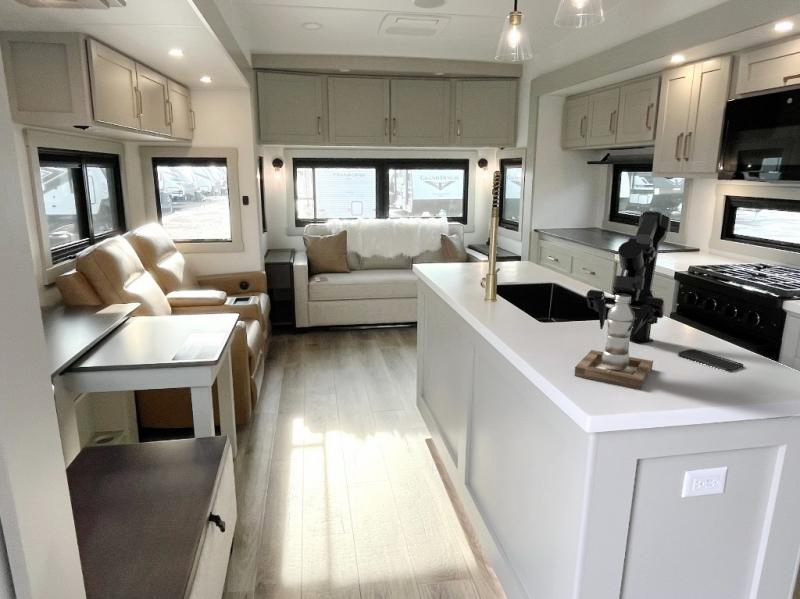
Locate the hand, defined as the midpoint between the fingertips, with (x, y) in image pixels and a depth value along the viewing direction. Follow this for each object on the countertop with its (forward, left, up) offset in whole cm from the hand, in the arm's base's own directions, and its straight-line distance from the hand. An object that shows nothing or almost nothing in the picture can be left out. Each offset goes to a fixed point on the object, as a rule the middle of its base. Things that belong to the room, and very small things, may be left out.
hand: (617, 330), depth 139 cm
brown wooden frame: (-1, -1, -12) cm, 12 cm away
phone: (-32, +2, -12) cm, 35 cm away
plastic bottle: (-1, -1, -11) cm, 11 cm away
